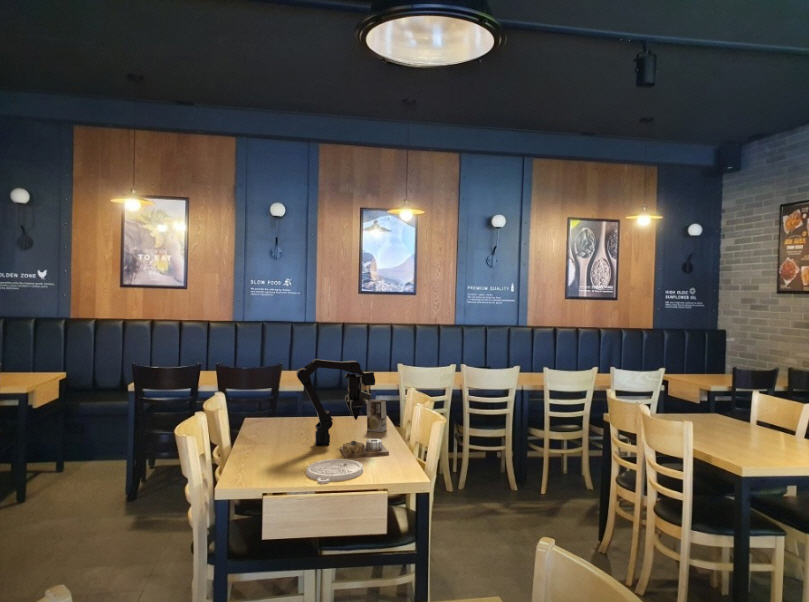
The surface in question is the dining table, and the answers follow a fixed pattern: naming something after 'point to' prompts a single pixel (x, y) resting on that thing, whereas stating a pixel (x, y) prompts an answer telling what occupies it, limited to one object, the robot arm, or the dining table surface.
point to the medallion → (334, 470)
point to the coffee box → (376, 415)
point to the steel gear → (374, 444)
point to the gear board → (360, 450)
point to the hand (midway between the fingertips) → (354, 417)
